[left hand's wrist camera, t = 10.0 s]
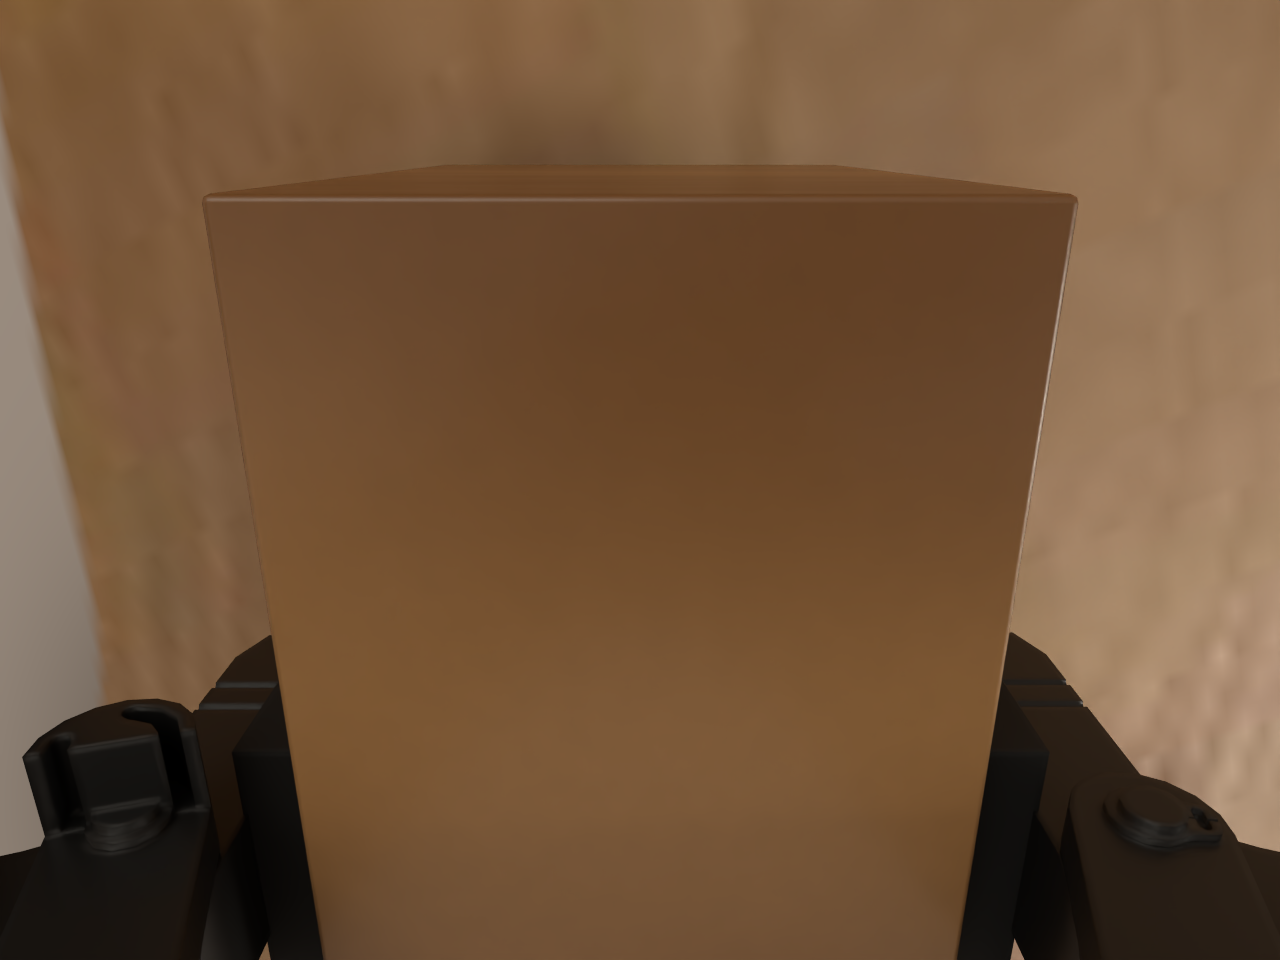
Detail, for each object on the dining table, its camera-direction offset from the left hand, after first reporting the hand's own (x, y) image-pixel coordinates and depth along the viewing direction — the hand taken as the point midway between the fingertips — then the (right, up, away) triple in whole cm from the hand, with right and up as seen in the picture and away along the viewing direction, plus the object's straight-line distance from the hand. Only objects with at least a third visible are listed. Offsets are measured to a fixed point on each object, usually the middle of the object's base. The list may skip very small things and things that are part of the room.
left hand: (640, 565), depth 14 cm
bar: (0, -27, +11) cm, 30 cm away
